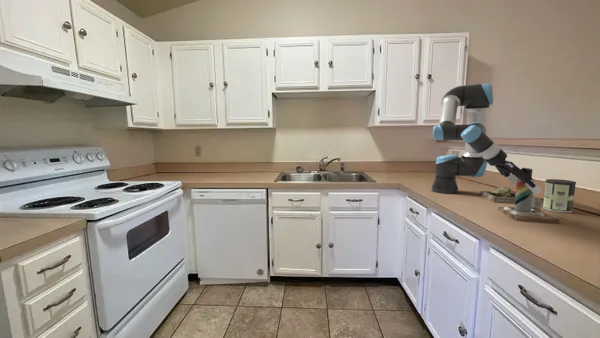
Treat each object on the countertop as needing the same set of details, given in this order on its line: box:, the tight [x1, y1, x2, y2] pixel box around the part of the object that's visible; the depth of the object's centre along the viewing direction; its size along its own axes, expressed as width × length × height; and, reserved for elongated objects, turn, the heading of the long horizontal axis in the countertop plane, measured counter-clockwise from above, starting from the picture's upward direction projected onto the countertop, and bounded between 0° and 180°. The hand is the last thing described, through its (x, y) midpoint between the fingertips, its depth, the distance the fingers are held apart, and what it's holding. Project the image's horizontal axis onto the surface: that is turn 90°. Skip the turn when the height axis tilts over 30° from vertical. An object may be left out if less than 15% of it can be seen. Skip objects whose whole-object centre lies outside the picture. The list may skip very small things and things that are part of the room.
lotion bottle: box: [514, 167, 535, 213], centre depth 114 cm, size 6×6×20 cm
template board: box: [497, 196, 561, 224], centre depth 115 cm, size 16×15×8 cm
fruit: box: [491, 186, 512, 198], centre depth 147 cm, size 9×9×8 cm
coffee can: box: [542, 178, 577, 214], centre depth 124 cm, size 10×10×14 cm
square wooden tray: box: [480, 190, 516, 204], centre depth 145 cm, size 17×17×2 cm
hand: (528, 188), depth 114 cm, fingers open, 13 cm apart
